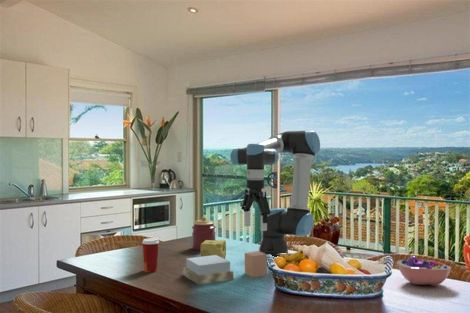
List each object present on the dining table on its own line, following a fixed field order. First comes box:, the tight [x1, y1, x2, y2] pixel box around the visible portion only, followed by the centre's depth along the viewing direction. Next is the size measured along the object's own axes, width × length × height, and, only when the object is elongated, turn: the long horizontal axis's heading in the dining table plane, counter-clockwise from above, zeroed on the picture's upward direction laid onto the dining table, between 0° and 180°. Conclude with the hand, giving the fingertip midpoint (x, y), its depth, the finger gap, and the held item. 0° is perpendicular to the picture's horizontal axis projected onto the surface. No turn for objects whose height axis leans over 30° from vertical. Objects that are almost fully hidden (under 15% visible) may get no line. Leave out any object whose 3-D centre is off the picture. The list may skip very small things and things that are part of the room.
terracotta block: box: [244, 250, 268, 278], centre depth 198 cm, size 7×7×9 cm
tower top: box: [185, 255, 231, 276], centre depth 193 cm, size 14×14×4 cm
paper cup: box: [141, 237, 160, 273], centre depth 204 cm, size 8×8×14 cm
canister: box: [191, 216, 217, 252], centre depth 250 cm, size 13×13×18 cm
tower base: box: [182, 266, 235, 286], centre depth 193 cm, size 16×16×4 cm
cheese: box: [199, 239, 227, 260], centre depth 219 cm, size 10×11×10 cm
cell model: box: [396, 255, 452, 287], centre depth 181 cm, size 17×20×11 cm
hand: (255, 228), depth 197 cm, fingers open, 13 cm apart
